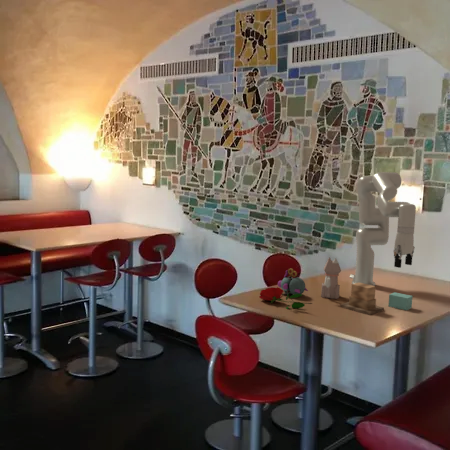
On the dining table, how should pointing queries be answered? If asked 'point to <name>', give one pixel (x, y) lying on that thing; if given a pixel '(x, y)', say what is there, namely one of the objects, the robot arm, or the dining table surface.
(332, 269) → the toy
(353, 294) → the tan block
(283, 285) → the toy
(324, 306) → the dining table surface
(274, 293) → the flower
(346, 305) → the pedestal board
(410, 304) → the teal brick
